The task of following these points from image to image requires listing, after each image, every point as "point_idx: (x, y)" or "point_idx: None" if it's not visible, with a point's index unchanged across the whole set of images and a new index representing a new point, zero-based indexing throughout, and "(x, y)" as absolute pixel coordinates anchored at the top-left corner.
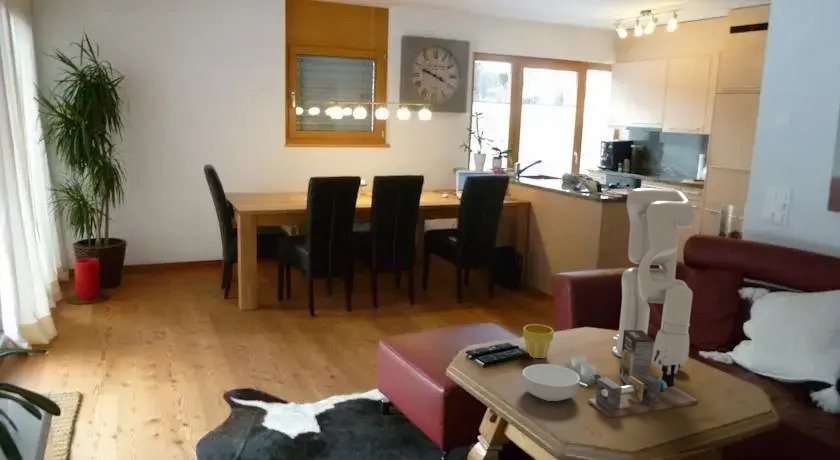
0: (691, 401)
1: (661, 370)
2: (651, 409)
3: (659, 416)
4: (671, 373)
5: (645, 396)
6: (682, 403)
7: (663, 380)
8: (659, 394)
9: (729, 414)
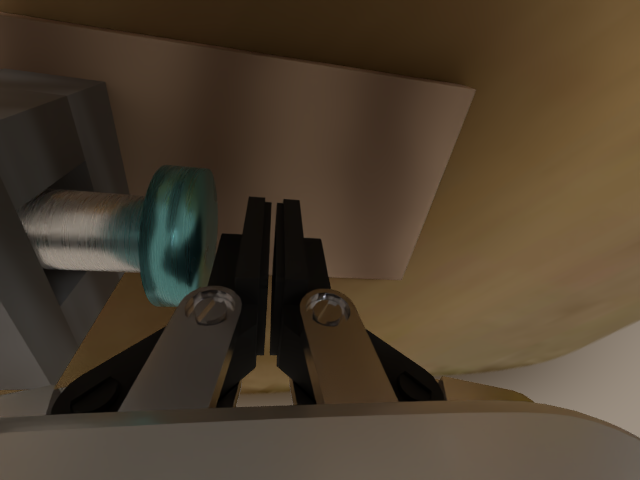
0: (361, 277)
1: (185, 299)
2: None
3: None
4: (278, 349)
5: None
6: None
7: (173, 303)
8: (248, 152)
9: (413, 353)
